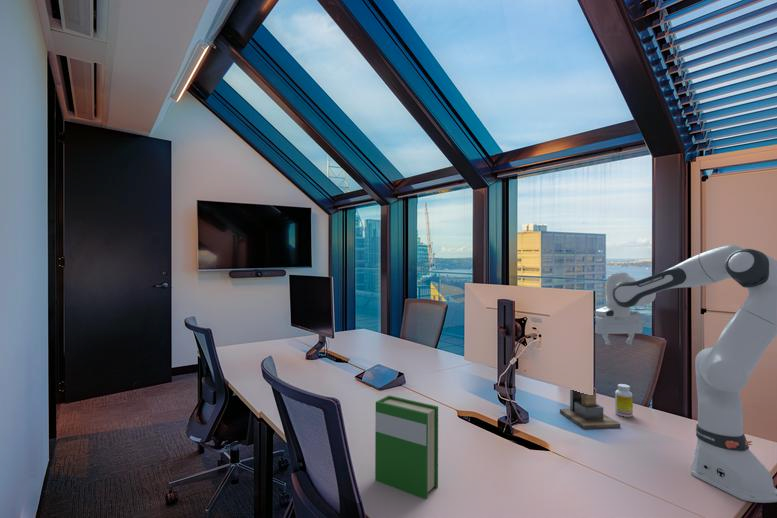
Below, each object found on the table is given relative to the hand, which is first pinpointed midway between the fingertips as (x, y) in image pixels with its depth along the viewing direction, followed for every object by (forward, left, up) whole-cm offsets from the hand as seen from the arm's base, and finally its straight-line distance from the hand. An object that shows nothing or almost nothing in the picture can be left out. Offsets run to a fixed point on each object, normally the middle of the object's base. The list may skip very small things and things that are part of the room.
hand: (618, 344), depth 169 cm
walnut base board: (+4, +11, -33) cm, 35 cm away
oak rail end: (+4, +11, -31) cm, 33 cm away
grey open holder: (+6, +11, -31) cm, 34 cm away
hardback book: (-38, +96, -33) cm, 108 cm away
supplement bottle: (+8, -8, -33) cm, 35 cm away
